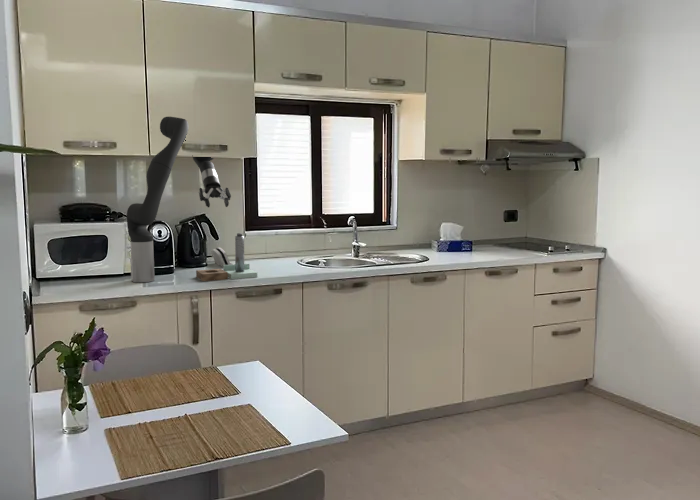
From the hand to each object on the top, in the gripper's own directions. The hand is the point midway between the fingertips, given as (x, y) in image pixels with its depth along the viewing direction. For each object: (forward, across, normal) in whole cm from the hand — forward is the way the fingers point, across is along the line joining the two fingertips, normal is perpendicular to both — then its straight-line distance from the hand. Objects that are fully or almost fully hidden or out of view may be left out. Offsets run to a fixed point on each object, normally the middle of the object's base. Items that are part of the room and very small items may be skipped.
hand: (218, 206), depth 292 cm
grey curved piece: (+10, +6, +34) cm, 36 cm away
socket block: (+33, -8, +11) cm, 35 cm away
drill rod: (+31, +5, +9) cm, 33 cm away
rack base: (+33, +5, +11) cm, 35 cm away
